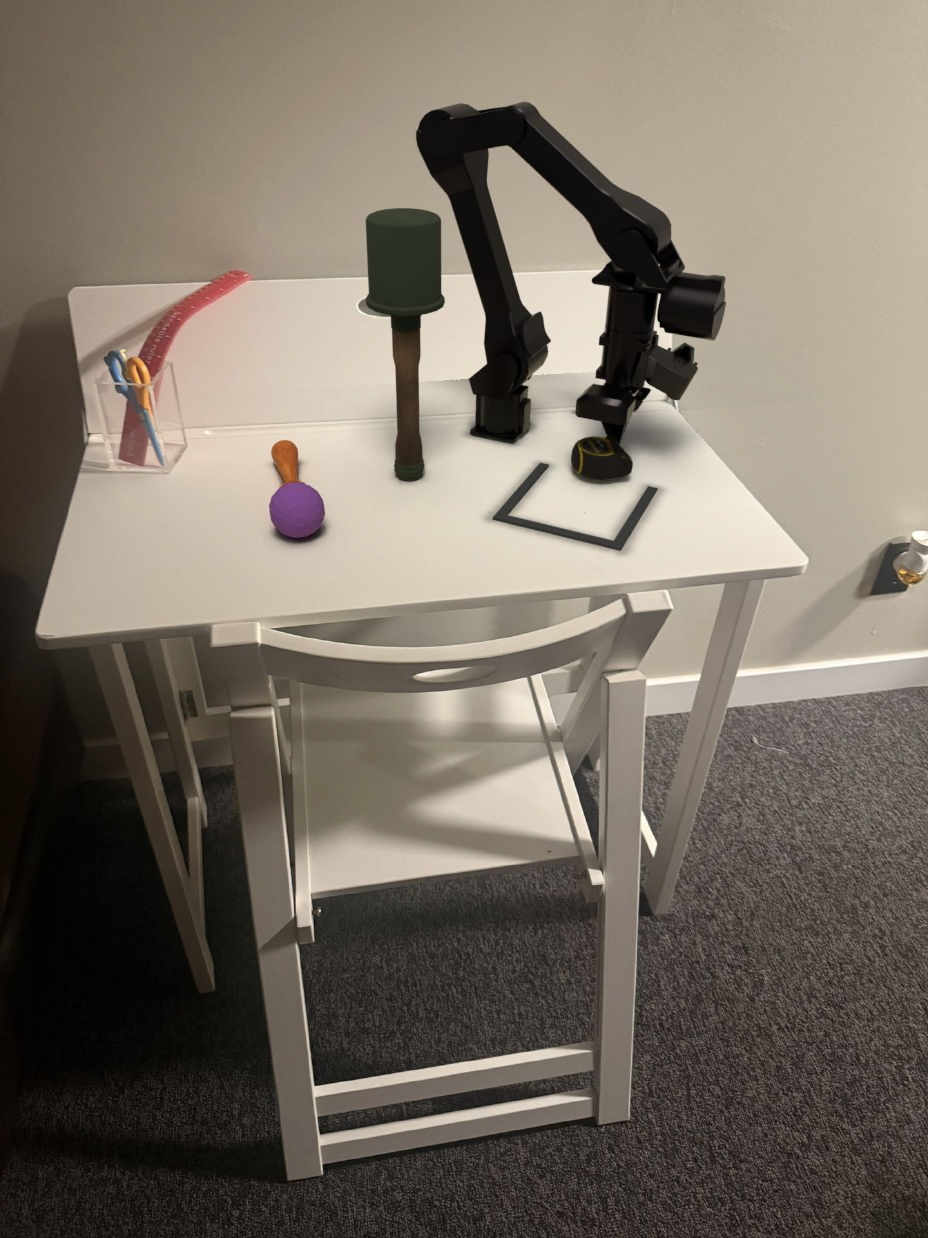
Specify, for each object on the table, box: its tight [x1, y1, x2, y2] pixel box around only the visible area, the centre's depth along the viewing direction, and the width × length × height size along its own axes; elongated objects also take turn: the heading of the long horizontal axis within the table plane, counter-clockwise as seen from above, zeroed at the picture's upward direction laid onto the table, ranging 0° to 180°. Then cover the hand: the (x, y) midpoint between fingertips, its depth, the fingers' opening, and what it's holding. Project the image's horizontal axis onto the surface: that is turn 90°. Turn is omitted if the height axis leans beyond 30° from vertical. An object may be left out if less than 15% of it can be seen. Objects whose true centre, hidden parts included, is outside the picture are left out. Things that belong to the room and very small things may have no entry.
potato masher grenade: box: [365, 207, 446, 482], centre depth 102 cm, size 8×9×30 cm
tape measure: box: [570, 435, 634, 482], centre depth 111 cm, size 7×7×4 cm
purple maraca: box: [268, 439, 326, 539], centre depth 104 cm, size 6×6×20 cm
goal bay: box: [492, 462, 658, 551], centre depth 106 cm, size 15×15×1 cm
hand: (615, 446), depth 116 cm, fingers closed
